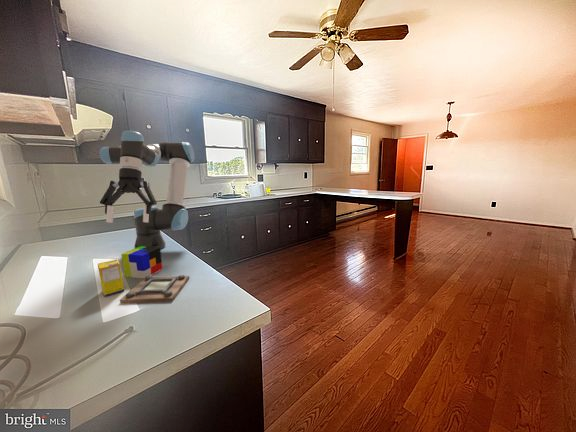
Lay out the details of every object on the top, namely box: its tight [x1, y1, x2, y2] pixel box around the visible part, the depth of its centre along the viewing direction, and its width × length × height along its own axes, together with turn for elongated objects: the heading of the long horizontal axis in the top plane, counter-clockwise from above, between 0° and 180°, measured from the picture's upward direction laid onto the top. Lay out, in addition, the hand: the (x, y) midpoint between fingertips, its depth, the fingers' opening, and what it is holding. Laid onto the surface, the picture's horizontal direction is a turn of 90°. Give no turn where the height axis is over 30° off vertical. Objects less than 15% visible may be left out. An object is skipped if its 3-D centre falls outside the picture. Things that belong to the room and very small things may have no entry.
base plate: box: [119, 274, 190, 304], centre depth 88 cm, size 17×17×2 cm
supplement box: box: [97, 259, 125, 298], centre depth 86 cm, size 6×6×11 cm
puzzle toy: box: [121, 246, 163, 279], centre depth 102 cm, size 10×10×10 cm
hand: (127, 222), depth 94 cm, fingers open, 13 cm apart
